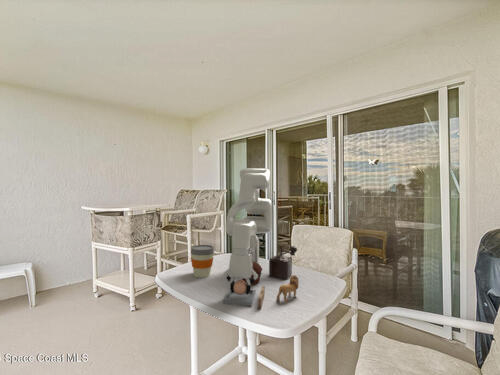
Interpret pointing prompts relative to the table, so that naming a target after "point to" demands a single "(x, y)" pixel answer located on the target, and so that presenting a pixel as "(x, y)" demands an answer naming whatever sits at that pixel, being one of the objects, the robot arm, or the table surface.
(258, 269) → the muffin
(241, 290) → the ball
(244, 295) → the slate dish
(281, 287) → the lion figurine
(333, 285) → the table surface
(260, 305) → the walnut wall
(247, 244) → the robot arm
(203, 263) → the reusable coffee cup
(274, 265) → the manual coffee grinder
